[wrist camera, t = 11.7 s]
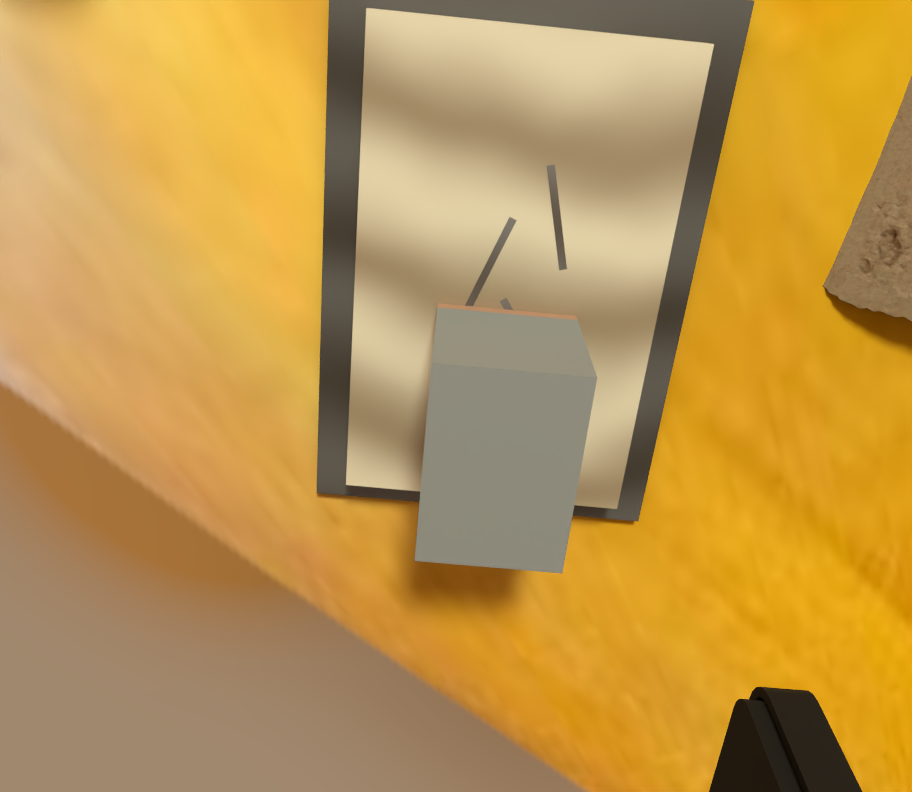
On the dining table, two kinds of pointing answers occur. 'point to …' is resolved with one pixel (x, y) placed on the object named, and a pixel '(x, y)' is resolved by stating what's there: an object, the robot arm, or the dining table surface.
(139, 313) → the dining table surface
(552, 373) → the block
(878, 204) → the clay tablet
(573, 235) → the board
